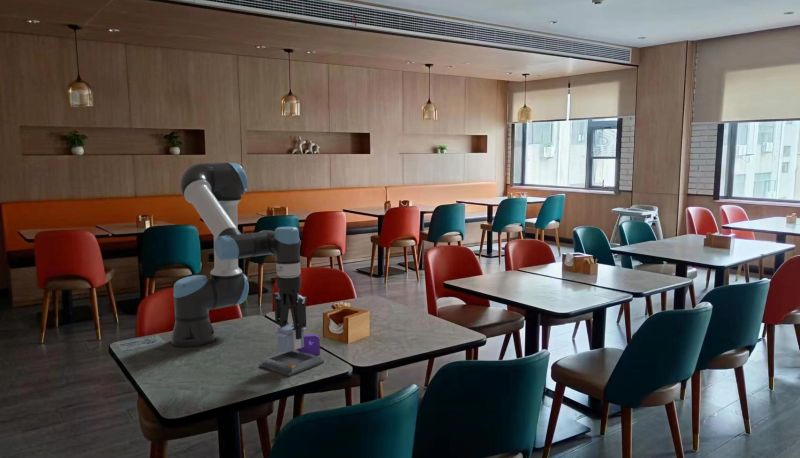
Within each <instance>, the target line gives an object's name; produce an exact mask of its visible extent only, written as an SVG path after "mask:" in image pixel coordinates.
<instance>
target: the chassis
mask: <svg viewBox="0 0 800 458" xmlns="http://www.w3.org/2000/svg"><path fill="white" fill-rule="evenodd" d="M261 360H262V361H261V363H259V364H258V366H259V367H260V368H263V369H265V370H269V371H272V372H274V373H277V374H280V375H281V374H282V375H283V376H284V375H285V376H286V377H291V376H293V375H296V374H297V373H298V374H299V373H301V372H304V371H306V370H308V369H310V368H313V367H316V366H318V365H321V364H323V363H324V362H325V360H324V359H322V357H321V356H319V355H312V354H308V353H305V352H301V351H299V350H298V349H296V350H293V351H290V352H285V351H281V352H279V353H278V352H277V353H275V354H272V355H270V356H267V357H264V358H262V359H261Z"/></svg>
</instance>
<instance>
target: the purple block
mask: <svg viewBox="0 0 800 458" xmlns="http://www.w3.org/2000/svg"><path fill="white" fill-rule="evenodd" d="M320 342H321V341H320V336H319V335H318V334H315V333H313V334H304V347H302V348H299V349H298V351H301V352H305V353H308V354H312V355H316V356H319V355H321V344H320Z"/></svg>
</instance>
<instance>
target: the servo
mask: <svg viewBox="0 0 800 458" xmlns="http://www.w3.org/2000/svg"><path fill="white" fill-rule="evenodd" d="M293 328H294V324H293V322H292V323H290V324H287V326H284V327H280V326H279V327H277V330H276V332H274V333H273V336H277V350H278V351H281V352H284V351H285V352H290V351H293V331H292V330H293ZM301 331H302V338H301V348H302V347H304V335H305V332H306V331H308V328H307V327H304V328H302V329H301Z"/></svg>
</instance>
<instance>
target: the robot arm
mask: <svg viewBox="0 0 800 458" xmlns="http://www.w3.org/2000/svg"><path fill="white" fill-rule="evenodd" d="M179 186H180V192H181V194H182V197H183V198H184V199H185V201H186V202H188V203H189V204H191V205H192V206H193V208H194V209H195V210H196V212H197V213H198V215H199V216H200V218H201V219H202V220H203V222H204V224H205V225H206V227H207V228H208V230H209V231H210V233H211V234H212V235H213V258H214V259H213V261H214V262H213V263H214V265H213V266H214V267H213V269H211V270H210V273H209V274H210V277H209V278H208V277H207V276H206V275H202V274H198V275H190V276H186V277H182V278H181V279H178V280H177V281H176V282H174V285H173V293H172V296H173V304H174V305H173V306H174V320H175V322H174V327H173V330H172V334H171V338H170V339H171V341H170V342H171V344H172V345H173V346H175V347H178V348H179V347H180V348H181V347H183V348H190V347H198V346H203V345H207V344H210V343H212V342H213V341H215V340H216V335H215V334H216V333H215V330H214V327H213V325H212V323H211V320H210V313H209V311H211V310H217V309H222V308H227V307H235V306H236V305H237V306H238V305H241V304H242V303H244V302H245V301H246V299H247V298H248V295H249V289H250V287H249V286H250V285H249V282H248V279H249V278H248V277H247V276H246V274H244V273H243V270H242V269H241V268H240V267H239V259H245V258H251V257H252V258H253V257H260V256H267V255H273V256H275V263H276V264H275V265H276V266H275V267H276V270H275V271H276V276H277V278H276V287H277V289H278V292H274V293H272V297H273V302H274V304H273V305H274V320H275V324H278V325H279V328H280V327H284V326H287V325H290V324H289V322H288V321H289V320H288V319H289V314H290V313H289V312H291V318H292V323H293V324H294V328H293V330H292V331H293V350H299V348H301V338H302V331H301V329H302V328H307V307H306V306H307V301H308V298H307V297H306V296H302V295H301V292H300V288H301V287H302V277H301V276H300V275H301V272H302V271H301V253H300V252H301V247H300V246H301V245H300V242H301V239H300V233H299V228H297V227H296V226H278V227H277V228H275V229H274V230H271V229H267V230H265V229H264V230H261V231H258V232H251V233H250V232H249V233H242V232H241V231H240V230H239V229H238V225H239V223H238V204H239V203H240V202H241V201H242V195H244V194H246V192H247V190H248V186H249V182H248V177H247V174H246V171H245V170H244V168H243V166H241V164H239V163H236V162H214V163H213V162H207V163H205V162H204V163H195V164H193V165H191V166H190V167H188V168H187V169H186V170H185V171H184V173H183V174H182V175H181V179H180V184H179Z"/></svg>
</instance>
